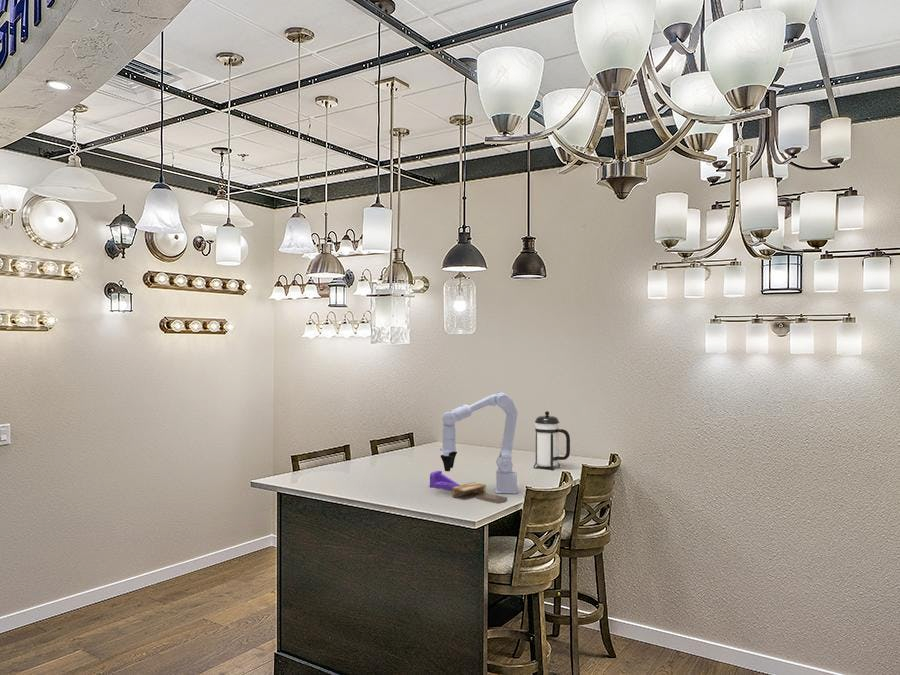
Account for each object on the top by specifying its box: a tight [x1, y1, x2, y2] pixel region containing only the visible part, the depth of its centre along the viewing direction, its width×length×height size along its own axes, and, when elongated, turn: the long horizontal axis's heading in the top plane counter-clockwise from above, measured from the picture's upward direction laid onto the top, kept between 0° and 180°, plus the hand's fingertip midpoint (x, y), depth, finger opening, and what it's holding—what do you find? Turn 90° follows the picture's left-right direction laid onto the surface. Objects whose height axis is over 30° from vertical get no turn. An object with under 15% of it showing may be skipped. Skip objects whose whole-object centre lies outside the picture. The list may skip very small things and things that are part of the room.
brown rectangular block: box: [451, 481, 487, 498], centre depth 286 cm, size 7×14×4 cm, turn 136°
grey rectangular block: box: [475, 492, 508, 504], centre depth 280 cm, size 12×6×2 cm, turn 47°
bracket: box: [429, 470, 461, 492], centre depth 302 cm, size 12×7×7 cm, turn 57°
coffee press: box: [533, 411, 571, 471], centre depth 350 cm, size 17×16×30 cm
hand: (449, 469), depth 294 cm, fingers open, 7 cm apart
